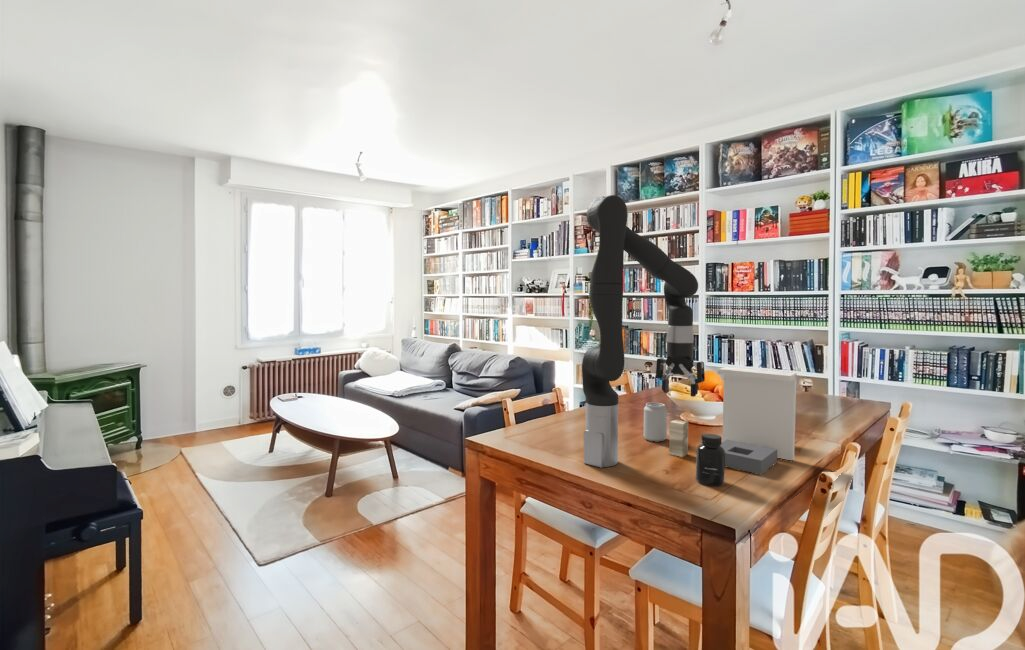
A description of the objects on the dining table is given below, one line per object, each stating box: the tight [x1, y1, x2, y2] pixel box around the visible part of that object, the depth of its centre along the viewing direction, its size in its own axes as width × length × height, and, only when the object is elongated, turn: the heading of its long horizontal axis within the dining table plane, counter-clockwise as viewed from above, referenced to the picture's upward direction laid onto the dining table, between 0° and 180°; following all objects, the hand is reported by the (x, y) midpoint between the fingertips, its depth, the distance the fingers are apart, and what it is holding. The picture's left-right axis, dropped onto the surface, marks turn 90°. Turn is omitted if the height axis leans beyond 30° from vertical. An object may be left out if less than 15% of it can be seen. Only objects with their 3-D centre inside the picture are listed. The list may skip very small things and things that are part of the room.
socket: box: [720, 439, 778, 475], centre depth 143 cm, size 14×14×4 cm
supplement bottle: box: [695, 433, 726, 487], centre depth 128 cm, size 7×7×12 cm
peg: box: [668, 419, 689, 458], centre depth 151 cm, size 4×4×10 cm
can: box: [643, 402, 668, 443], centre depth 167 cm, size 8×8×12 cm
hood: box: [717, 366, 798, 461], centre depth 149 cm, size 6×20×26 cm, turn 47°
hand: (679, 394), depth 150 cm, fingers open, 8 cm apart
